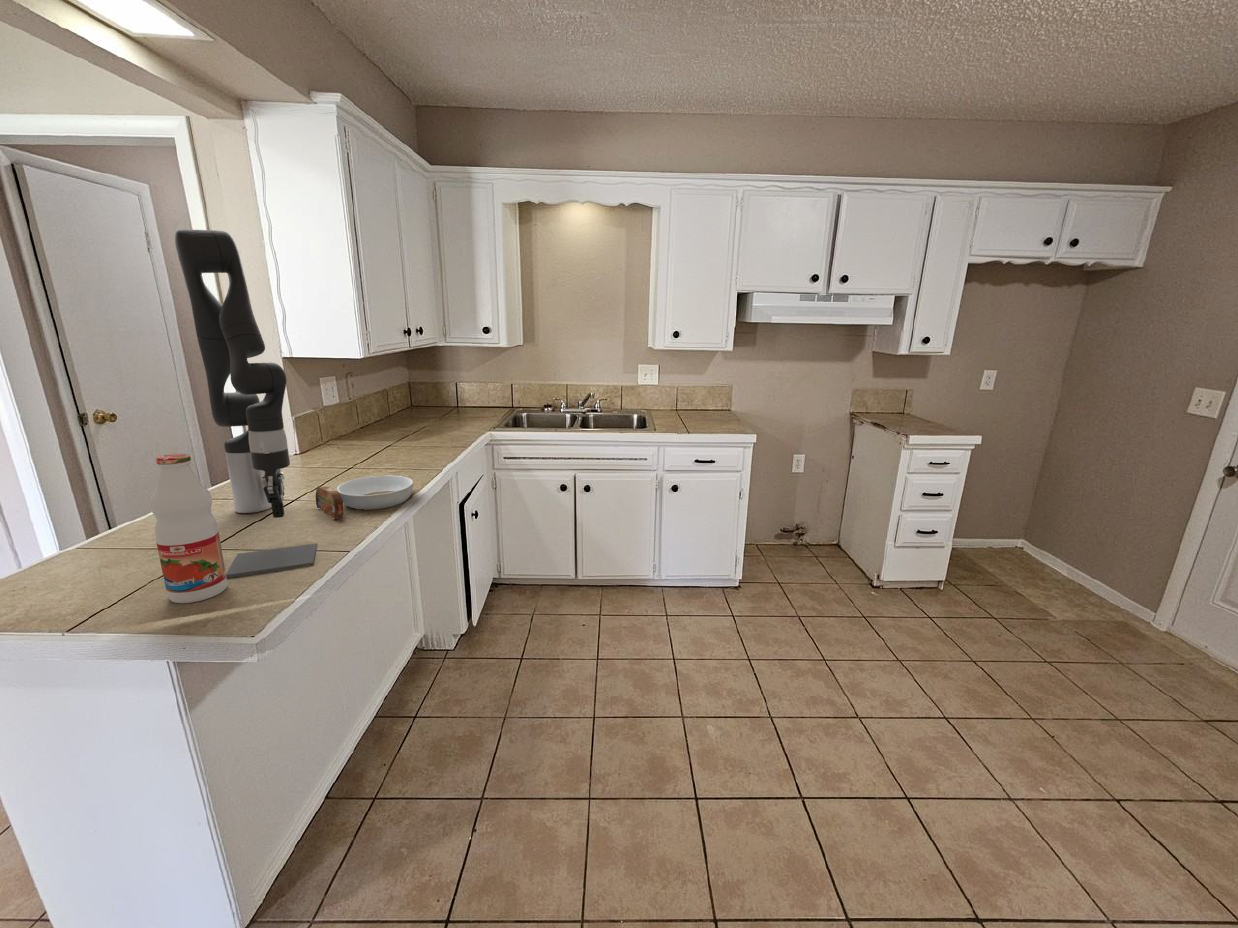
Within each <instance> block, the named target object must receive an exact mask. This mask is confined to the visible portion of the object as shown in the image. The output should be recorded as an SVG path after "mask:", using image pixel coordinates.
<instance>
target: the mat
mask: <svg viewBox="0 0 1238 928" xmlns="http://www.w3.org/2000/svg"><path fill="white" fill-rule="evenodd" d="M317 548H318V543H317V542H316V543H310V544H309V543H308V544H302V545H295V546H294V545H293V546H286V547H278V548H270V549H263V550H254V551H248V552H241V553H237V554H236V556H235V558H234V559H233V561H232V563H231V565H230V566H229V569H228V570H227V571H226V577H227V579H231V578H239V577H247V576H253V575H259V574H266V573H273V572H279V571H281V572H282V571H286V570H287V571H288V570H293V568H294V569H298V567H300V568H304V567H303V566H306V567H309V566H308V565H311V566H314V564H315V559H316V553H317Z"/></svg>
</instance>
